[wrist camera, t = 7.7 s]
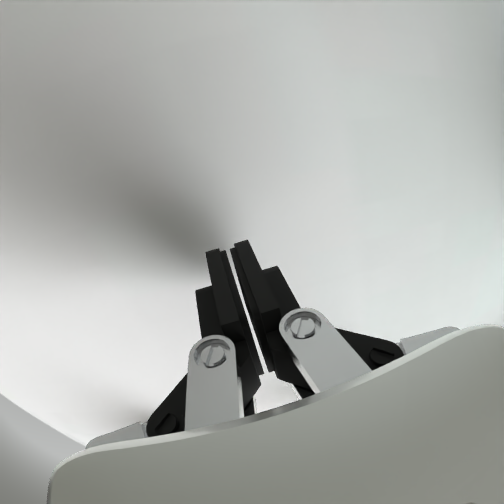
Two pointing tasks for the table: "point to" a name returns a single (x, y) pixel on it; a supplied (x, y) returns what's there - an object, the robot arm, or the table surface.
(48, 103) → the table surface
